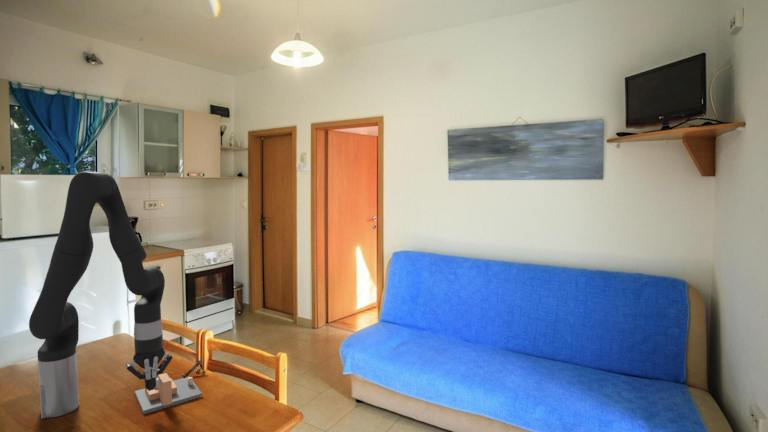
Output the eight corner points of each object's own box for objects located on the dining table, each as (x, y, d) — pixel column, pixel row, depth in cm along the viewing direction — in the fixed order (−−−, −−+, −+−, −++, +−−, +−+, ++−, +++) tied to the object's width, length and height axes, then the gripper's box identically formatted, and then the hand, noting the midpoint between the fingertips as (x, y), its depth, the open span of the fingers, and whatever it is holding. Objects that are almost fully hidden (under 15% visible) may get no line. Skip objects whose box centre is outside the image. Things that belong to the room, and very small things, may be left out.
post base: (143, 414, 128) (142, 395, 127) (134, 394, 140) (134, 377, 139) (202, 396, 139) (201, 379, 138) (189, 379, 150) (189, 363, 150)
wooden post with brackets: (207, 367, 158) (202, 359, 156) (189, 384, 152) (184, 375, 150) (204, 366, 159) (199, 357, 157) (186, 382, 153) (181, 373, 151)
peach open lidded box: (144, 390, 139) (143, 368, 138) (171, 383, 144) (170, 362, 143) (153, 409, 128) (152, 385, 128) (181, 400, 133) (181, 377, 133)
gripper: (126, 343, 120) (128, 401, 122) (175, 332, 129) (177, 386, 131) (120, 336, 126) (123, 391, 128) (168, 326, 135) (170, 378, 136)
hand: (150, 389), depth 129 cm, fingers closed
